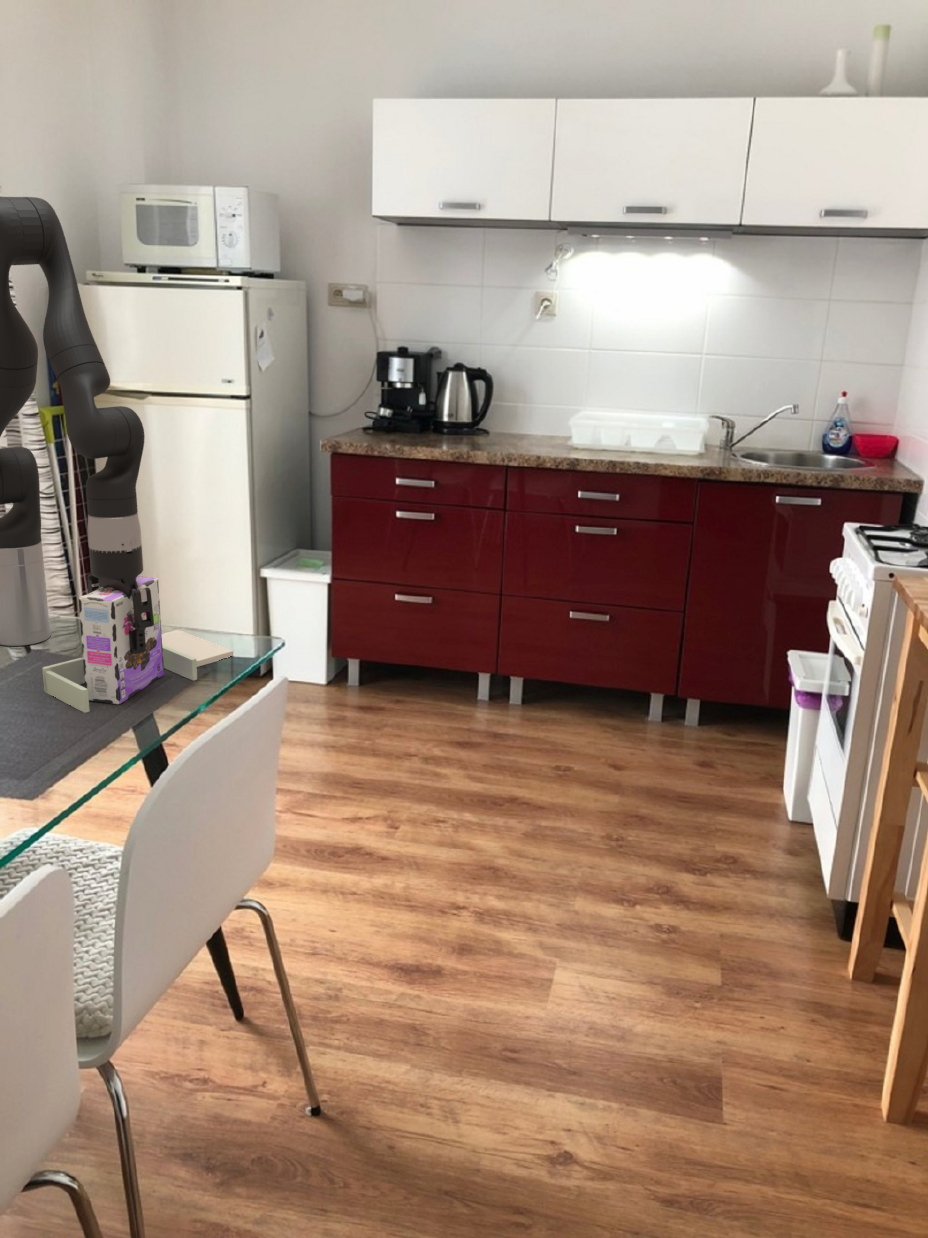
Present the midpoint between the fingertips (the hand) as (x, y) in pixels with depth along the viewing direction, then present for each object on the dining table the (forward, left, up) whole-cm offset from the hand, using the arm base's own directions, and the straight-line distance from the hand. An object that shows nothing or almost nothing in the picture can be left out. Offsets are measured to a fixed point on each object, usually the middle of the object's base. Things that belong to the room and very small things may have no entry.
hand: (123, 646), depth 161 cm
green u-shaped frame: (0, 0, -7) cm, 7 cm away
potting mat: (-8, +16, -7) cm, 19 cm away
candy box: (0, 0, -7) cm, 7 cm away
